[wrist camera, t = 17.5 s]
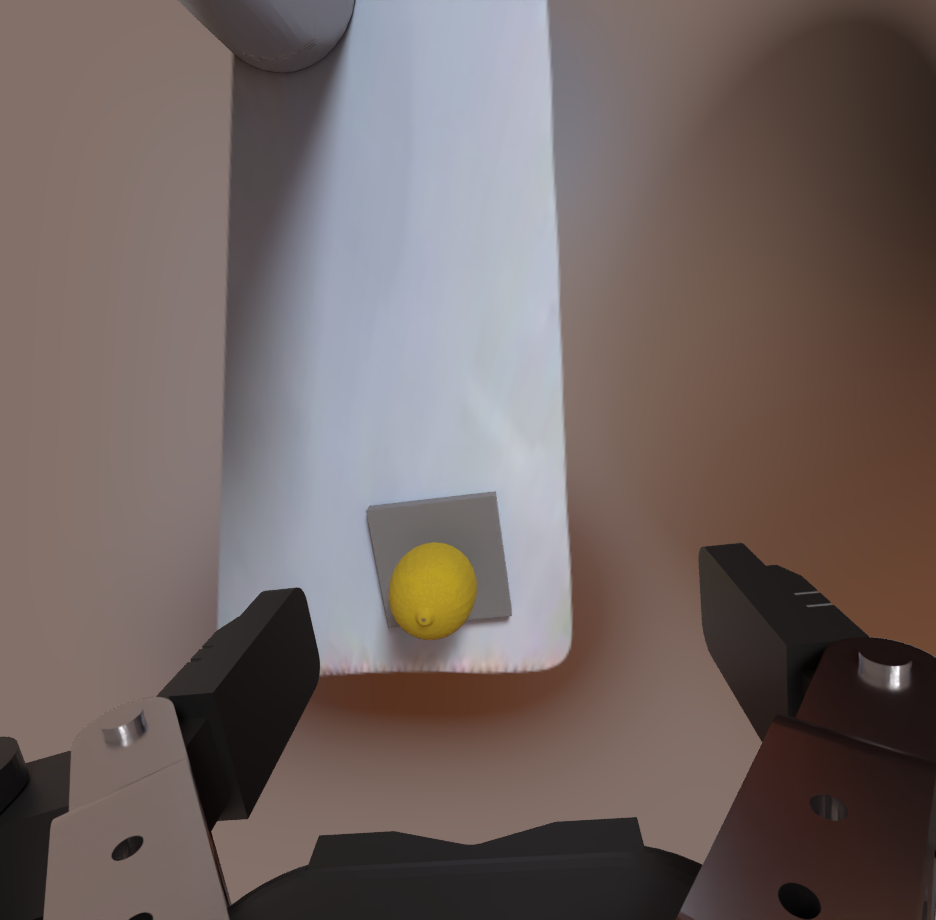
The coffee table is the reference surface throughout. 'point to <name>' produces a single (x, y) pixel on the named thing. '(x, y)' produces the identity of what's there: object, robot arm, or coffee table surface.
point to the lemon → (432, 591)
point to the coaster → (453, 523)
